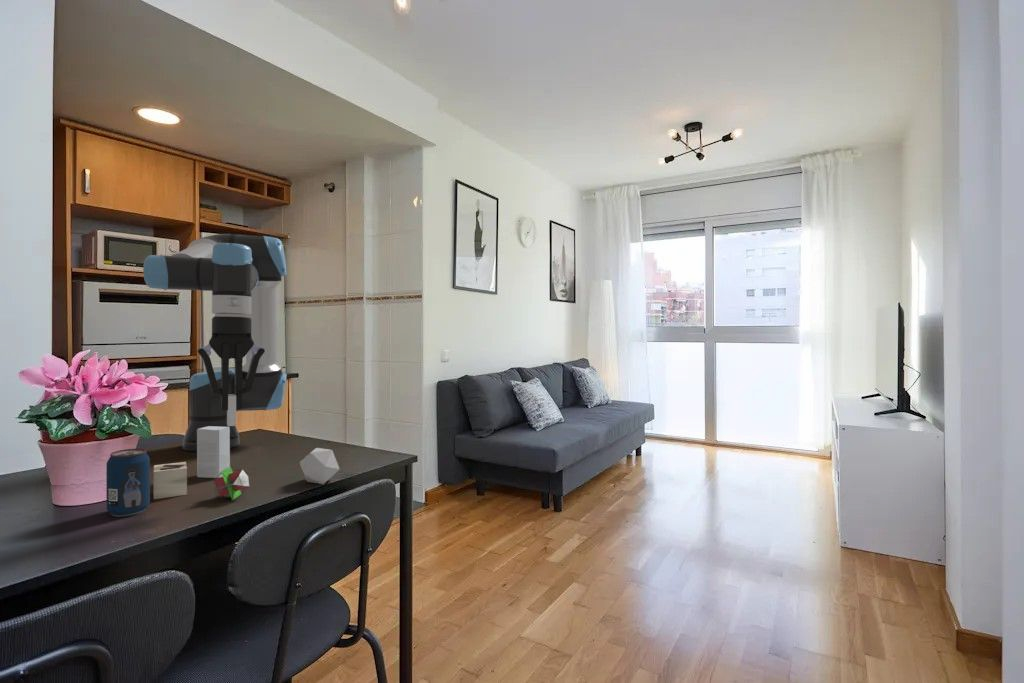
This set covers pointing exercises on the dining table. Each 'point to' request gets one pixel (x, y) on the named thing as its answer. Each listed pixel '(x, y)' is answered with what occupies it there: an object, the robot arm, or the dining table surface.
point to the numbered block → (170, 480)
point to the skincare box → (213, 451)
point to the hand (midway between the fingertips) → (231, 424)
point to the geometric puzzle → (231, 482)
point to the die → (319, 465)
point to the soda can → (128, 482)
